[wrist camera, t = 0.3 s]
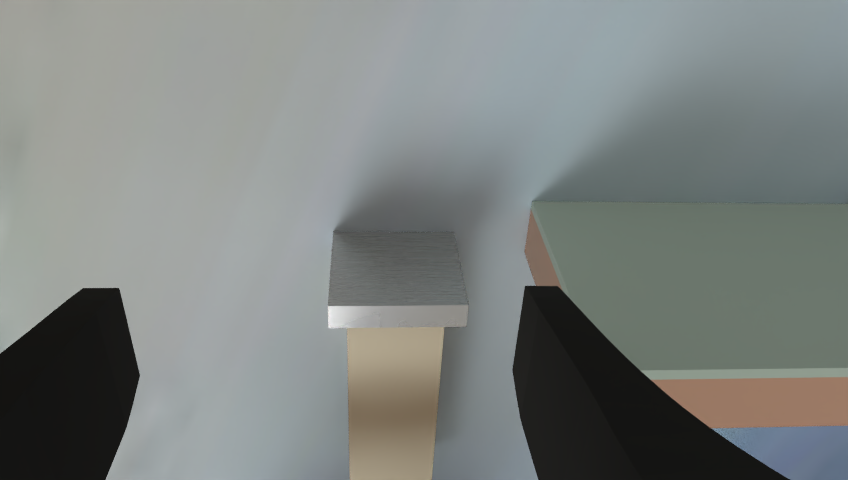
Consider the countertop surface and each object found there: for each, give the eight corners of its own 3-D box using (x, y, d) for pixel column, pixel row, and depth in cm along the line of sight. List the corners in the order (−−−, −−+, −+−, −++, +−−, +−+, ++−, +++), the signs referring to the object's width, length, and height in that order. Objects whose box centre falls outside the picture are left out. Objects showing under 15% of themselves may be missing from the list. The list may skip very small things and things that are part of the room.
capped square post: (435, 449, 29) (444, 534, 26) (339, 451, 29) (336, 538, 25) (453, 231, 23) (468, 305, 20) (333, 230, 23) (327, 306, 19)
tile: (853, 251, 25) (1032, 421, 18) (523, 250, 24) (584, 430, 17) (875, 202, 24) (1076, 365, 17) (531, 200, 23) (600, 371, 16)
